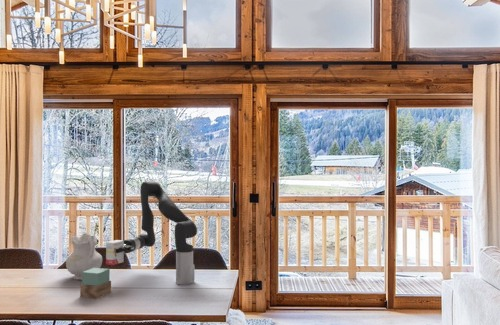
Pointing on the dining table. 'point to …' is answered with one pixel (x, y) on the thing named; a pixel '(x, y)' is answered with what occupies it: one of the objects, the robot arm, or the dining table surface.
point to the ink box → (114, 252)
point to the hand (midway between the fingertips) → (112, 251)
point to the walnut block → (95, 290)
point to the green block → (95, 276)
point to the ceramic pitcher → (83, 255)
